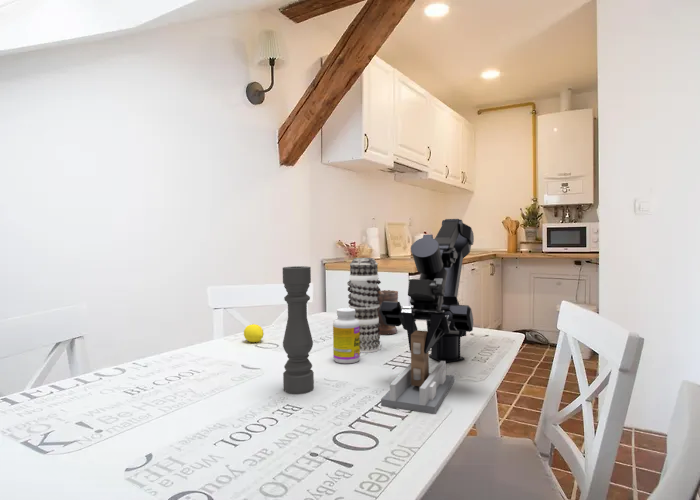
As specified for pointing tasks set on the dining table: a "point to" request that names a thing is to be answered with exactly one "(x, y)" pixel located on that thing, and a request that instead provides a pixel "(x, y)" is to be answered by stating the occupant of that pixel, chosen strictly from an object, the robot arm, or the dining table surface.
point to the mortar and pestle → (384, 296)
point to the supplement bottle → (346, 336)
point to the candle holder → (297, 331)
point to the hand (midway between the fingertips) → (418, 351)
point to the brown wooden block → (419, 358)
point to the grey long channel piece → (419, 391)
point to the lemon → (253, 333)
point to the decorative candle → (365, 301)
